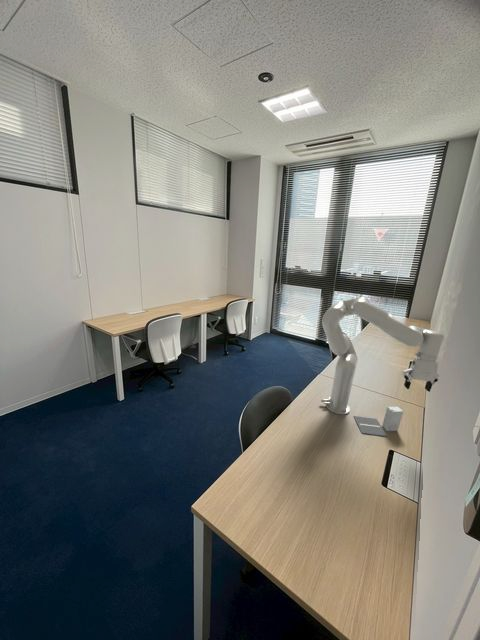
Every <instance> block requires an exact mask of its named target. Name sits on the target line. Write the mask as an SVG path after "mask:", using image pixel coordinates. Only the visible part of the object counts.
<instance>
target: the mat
mask: <svg viewBox="0 0 480 640" xmlns="http://www.w3.org/2000/svg"><path fill="white" fill-rule="evenodd" d="M353 418H354V420H355V423H356V425H357V427H358V429H359V431H360V433H361V434H363V435H368V436H369V435H370V436H377V437H385V438H387V437H388V435H387V433H386V432H385V430H384V428H383V426H382V425H381V423H380V422H379V420H378V419H377V418H373V417H366V416H355V415H353Z"/></svg>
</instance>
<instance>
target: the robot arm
mask: <svg viewBox="0 0 480 640" xmlns="http://www.w3.org/2000/svg"><path fill="white" fill-rule="evenodd" d="M354 315H355V316H356V317H358V318H360V319H362V320H364V321H366V322H368V323H370V324H372V326H373V325H374V326H375V327H377V328H379V329H380V330H381V331H383V332H385V333H386V334H387V335H389V336H390V337H392V338H393V339H395V340H397V341H399V342H401V343H402V344H404V345H407V346H409V347H413V348H414V347H418V350H417V352H415V353H414V357H413V360H412V362H411V364H410V366H409V368H408V369H407V368H406V369H405V370H401V373H402V377H403V378H404V379H405V381H404V384H403V385H404V387H405V389H407V390H410V388H411V384H412V381H413V380H415V381H416V380H417V381H425V386H424V389H425V391H427V392H429V393H430V392H431V390H432V386H433V385H435V383H437V382H438V381H439V379H438V377H439V375H440V374H439V373H438V368H439V367H438V366H439V364H438V362H439V361H438V360H437V359H438V356H439V353H440V350H441V347H442V344H443V340H444V334H443V333H442V332H440V331H438V330H432V329H427V328H423V327H419V326H416V325H405V324H404V323H402V322H401V321H399V320H398V319H396V318H395V316H394V315H392V314H391V313H390V312H389V311H388V310H385V309H383V308H381V307H380V306H377V305H375V304H374V303H372V302H370V299H368V298H367V297H362V296H361V297H356V298H355V297H354V298H350V299H346V300H341V301H337V302H336V303H334V304H332V305H331V306H330V307H329V308H328V309H327V310H326V311H325V313H324V314H323V315H322V318H321V326H322V328H323V332H324V334H325V337H326V339H327V342H328V345H329V347H330V350H331V351H332V353H333V354H334V355H335V356H338V359H337V362H336V363H335V369H334V376H333V383H332V387H331V392H330V393H331V394H330V395H329V396H328V398H323V397H322V398H320V402H321V403H323V404H324V405H325V407H326V408H327V410H329V411H330V412H331V413H333V414H336V415H341V416H343V415H347V414H349V413H350V406H349V400H350V397H351V396H350V395H351V391H352V385H353V381H354V377H355V373H356V368H357V364H358V360H359V359H358V355H357V352H356V351H355V348H354V345H353V342H352V340H351V338H350V337H349V336H348V335H347V334H345V333H344V332H343V330H342V326H341V325H340V321H341V320H344V318H345V317H347V316H354ZM407 374H408V375H407Z"/></svg>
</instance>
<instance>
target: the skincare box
mask: <svg viewBox="0 0 480 640" xmlns="http://www.w3.org/2000/svg"><path fill="white" fill-rule="evenodd" d="M403 414H404V411H403V410H402V409H401V408H400V407H399V406H387V407H386V410H385V413H384V418H383V421H382V425H381V427H382V428H383V430H384V429H385V430H384V431H386V432H398V431H399V428H400V426H401V421H402V418H403Z"/></svg>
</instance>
